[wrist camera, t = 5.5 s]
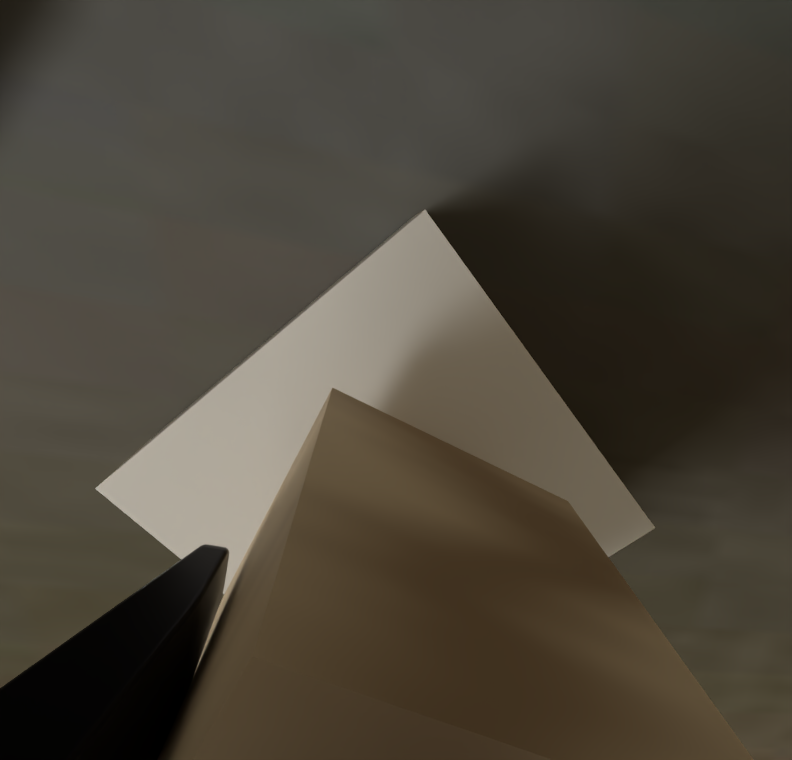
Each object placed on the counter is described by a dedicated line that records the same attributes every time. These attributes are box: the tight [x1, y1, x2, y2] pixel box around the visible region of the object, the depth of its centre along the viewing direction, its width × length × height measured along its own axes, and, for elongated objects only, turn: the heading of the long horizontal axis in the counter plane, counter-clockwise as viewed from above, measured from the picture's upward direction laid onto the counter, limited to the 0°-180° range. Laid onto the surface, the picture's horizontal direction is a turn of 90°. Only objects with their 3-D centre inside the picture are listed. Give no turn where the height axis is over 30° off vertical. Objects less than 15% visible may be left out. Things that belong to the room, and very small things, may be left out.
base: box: [95, 210, 655, 594], centre depth 11 cm, size 9×9×2 cm
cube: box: [157, 388, 753, 760], centre depth 6 cm, size 5×5×5 cm
